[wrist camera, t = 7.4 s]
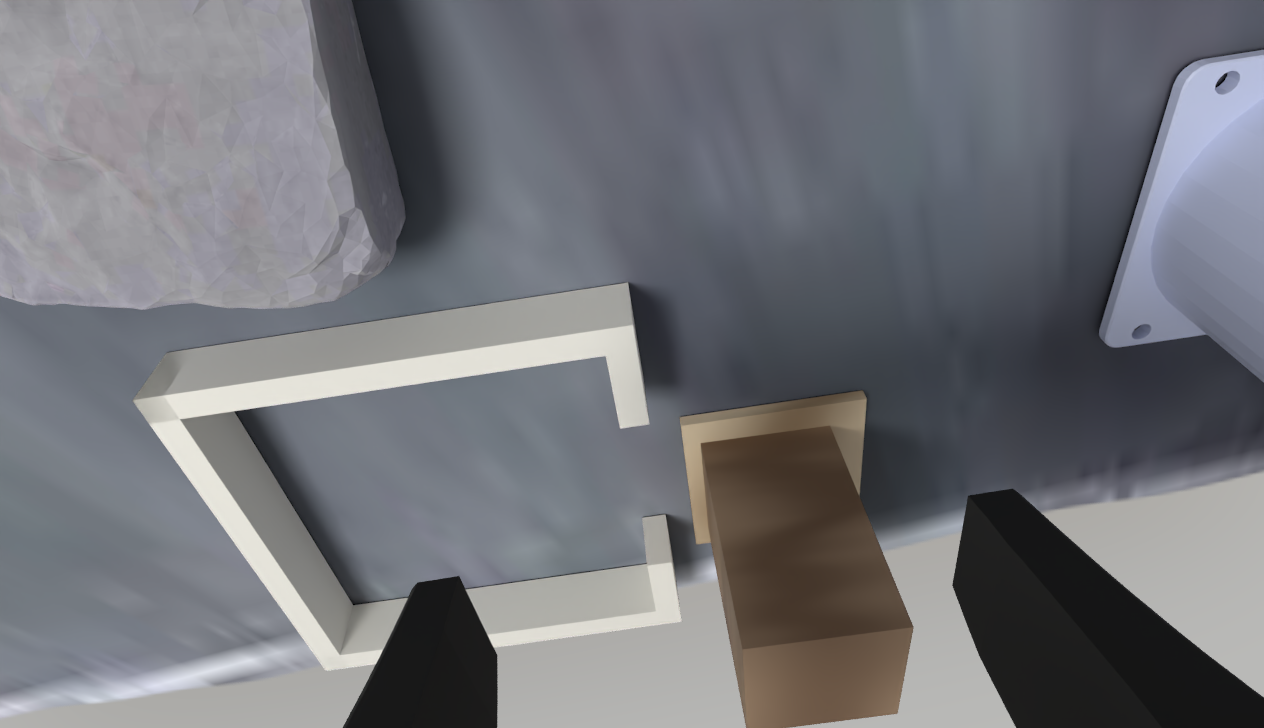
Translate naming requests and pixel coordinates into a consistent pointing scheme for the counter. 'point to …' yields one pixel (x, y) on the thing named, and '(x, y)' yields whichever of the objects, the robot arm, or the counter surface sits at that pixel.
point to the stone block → (190, 154)
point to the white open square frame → (385, 358)
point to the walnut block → (802, 582)
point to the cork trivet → (828, 410)
